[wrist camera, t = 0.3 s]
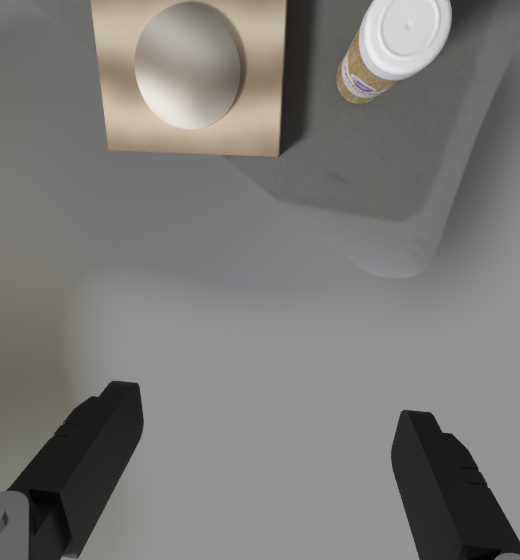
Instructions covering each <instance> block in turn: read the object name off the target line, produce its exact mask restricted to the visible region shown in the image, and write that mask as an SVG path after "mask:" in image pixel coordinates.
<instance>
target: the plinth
mask: <svg viewBox="0 0 520 560" xmlns="http://www.w3.org/2000/svg"><path fill="white" fill-rule="evenodd" d="M287 4H288V0H91V7H92V16H93V24H94V32H95V40H96V49H97V57H98V65H99V73H100V82H101V90H102V99H103V107H104V115H105V123H106V132H107V139H108V148H109V150H121V151H144V152H170V153H196V154H221V155H247V156H273V157H279V156H280V137H281V118H282V99H283V80H284V61H285V42H286V23H287Z"/></svg>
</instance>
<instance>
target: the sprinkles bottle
mask: <svg viewBox="0 0 520 560" xmlns="http://www.w3.org/2000/svg"><path fill="white" fill-rule="evenodd" d="M451 22H452V8H451V3H450V0H373V2H372V4H371V5H370V7H369V9H368V10H367V12H366V14H365V16H364V18H363V21H362V24H361V27H360V29H359V30H358V32H357V34H356V36H355V38H354V40H353V42H352V44H351V45H350V47H349V50H348V52H347V54H346V55H345V56H344V57H343V59H342V60H341V62H340V64H339V66H338V70H337V74H336V77H337V78H336V81H337V87H338V89H339V91H340V93H341V94H342V96H343V97H344V98H345V99H346V100H348V101H349V102H352V103H357V104H360V103H366V102H369V101H371V100H372V99H374V98H376V97H377V96H378V95H379V94H381V93H383V92H384V91H386V90H387V89H389V88H390V87H392V86H393V85H394V84H396V83H397V82H398V81H400V80H401V79H405V78H408V77H410V76H412V75H414V74H415V73H417V72H418V71H420V70H421V69H423V68H424V67H426V66H427V65H428V64H430V63H431V62H432V61H433V60H434V59H435V58H436V56H437V55H438V54H439V52H440V51H441V50H442V48H443V46H444V44H445V42H446V40H447V38H448V35H449V32H450V28H451Z"/></svg>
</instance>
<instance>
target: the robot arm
mask: <svg viewBox="0 0 520 560" xmlns="http://www.w3.org/2000/svg"><path fill="white" fill-rule="evenodd" d="M143 423H144V420H143V411H142V404H141V395H140V388H139V385H138V384H137V383H133V382H122V381H112V382H110V383H109V385H108V386H107V387H106V388H105V389H104V391H103V392H102V393H101V395H100V396H99V397H95V396H92V397H90V398H89V399H87V400H86V401H85V402H83V403H82V404H80V405H79V406H77V407H76V408H75V409H74V410H73V411H72V413H71V414H70V415H69V416H68V417H67V419H66V420H65V421H64V422H63V425H61V426H60V427H59V428H58V429H57V431H56V432H55V433H54V434H53V438H50V439H49V440H48V442H47V443H46V444H45V445H44V446H43V448H42V449H41V450H40V451H39V453H38V454H37V455H36V456H35V457H34V458H33V460H32V461H31V462H30V463H29V465H28V466H27V467H26V468H25V469H24V471H23V472H22V473H21V474H20V476H19V477H18V478H17V479H16V480H15V481H14V483H13V484H12V485H11V486H10V487H9V488H8V489H7V491H4V492H0V560H60V559H61V557H70V558H77V559H78V558H79V556H80V554H81V552H82V550H83V548H84V546H85V544H86V542H87V540H88V539H89V537H90V535H91V533H92V531H93V529H94V527H95V525H96V523H97V521H98V519H99V517H100V515H101V514H102V512H103V510H104V508H105V506H106V504H107V502H108V500H109V498H110V496H111V494H112V492H113V490H114V488H115V487H116V485H117V483H118V481H119V479H120V477H121V475H122V473H123V471H124V469H125V467H126V466H127V464H128V462H129V460H130V458H131V456H132V454H133V452H134V450H135V448H136V446H137V444H138V442H139V440H140V438H141V435H142V431H143ZM391 461H392V468H393V472H394V475H395V479H396V482H397V485H398V489H399V492H400V495H401V499H402V502H403V505H404V508H405V512H406V515H407V519H408V522H409V525H410V529H411V532H412V535H413V538H414V542H415V545H416V548H417V552H418V555H419V559H420V560H520V541H519V539H518V538H517V536H516V534H515V532H514V531H513V529H512V527H511V525H510V523H509V522H508V520H507V518H506V516H505V514H504V513H503V511H502V509H501V507H500V506H499V504H498V502H497V500H496V498H495V497H494V495H493V493H492V491H491V490H490V488H488V487H487V483H486V481H485V479H484V478H483V475H482V474H481V472H479V470H478V467H477V465H476V463H475V461H474V460H473V458H472V456H471V454H470V452H469V451H468V449H466V447H465V446H464V445H463V444H461V442H460V441H458V440H457V439H456V437H455V436H453V434H449V433H442V431H441V429H440V427H439V425H438V423H437V421H436V419H435V417H434V416H433V414H432V413H430V412H421V411H411V410H403V411H402V412H401V414H400V418H399V421H398V426H397V429H396V433H395V437H394V441H393V445H392V451H391Z"/></svg>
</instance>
